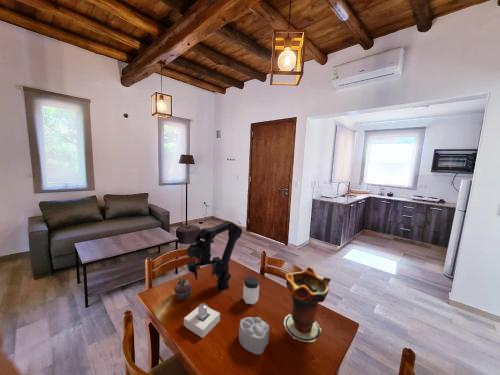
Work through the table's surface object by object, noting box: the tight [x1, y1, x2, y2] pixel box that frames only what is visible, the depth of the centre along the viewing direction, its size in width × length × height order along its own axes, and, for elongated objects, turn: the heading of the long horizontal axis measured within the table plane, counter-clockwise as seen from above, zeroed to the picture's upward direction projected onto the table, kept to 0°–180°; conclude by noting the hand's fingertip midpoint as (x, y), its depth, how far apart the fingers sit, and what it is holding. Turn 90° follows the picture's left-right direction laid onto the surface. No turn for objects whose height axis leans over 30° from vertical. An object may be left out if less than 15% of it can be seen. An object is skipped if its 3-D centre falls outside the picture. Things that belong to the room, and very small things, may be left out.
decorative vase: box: [283, 266, 332, 343], centre depth 99 cm, size 21×23×28 cm
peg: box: [198, 302, 208, 322], centre depth 98 cm, size 4×4×9 cm
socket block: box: [183, 306, 221, 339], centre depth 98 cm, size 12×12×4 cm
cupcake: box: [173, 278, 193, 302], centre depth 116 cm, size 10×10×10 cm
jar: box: [242, 275, 260, 305], centre depth 117 cm, size 9×8×12 cm
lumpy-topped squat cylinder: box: [238, 316, 270, 355], centre depth 90 cm, size 10×13×9 cm
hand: (204, 278), depth 114 cm, fingers open, 9 cm apart
